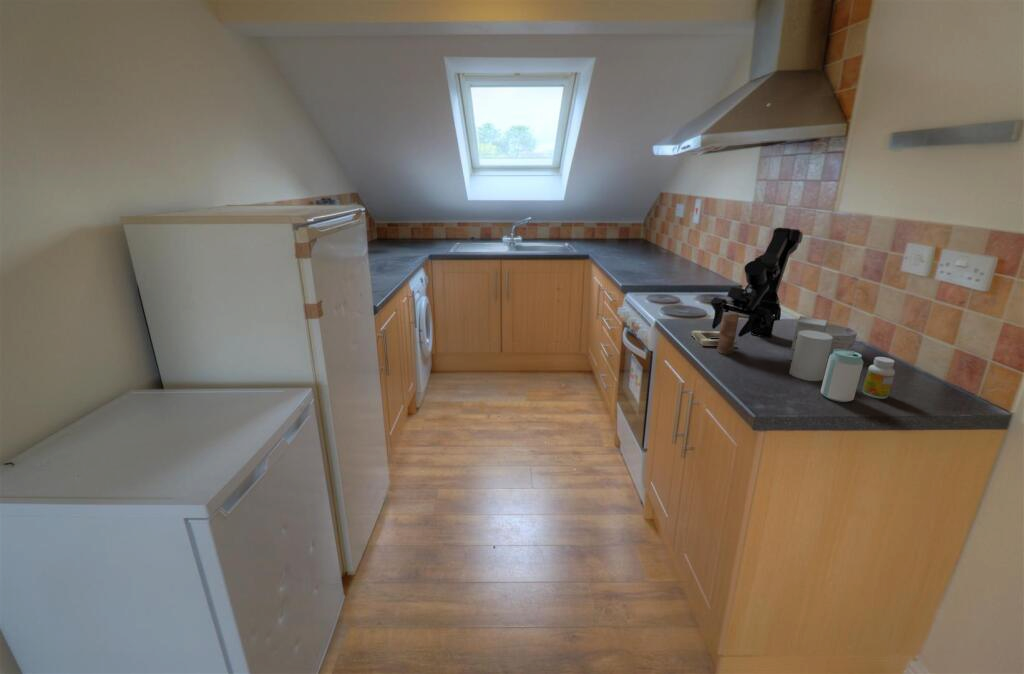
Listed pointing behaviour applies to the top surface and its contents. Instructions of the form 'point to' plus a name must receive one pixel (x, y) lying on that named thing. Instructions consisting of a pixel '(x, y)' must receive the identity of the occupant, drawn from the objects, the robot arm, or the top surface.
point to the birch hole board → (702, 339)
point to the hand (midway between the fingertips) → (725, 331)
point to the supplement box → (807, 324)
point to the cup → (810, 355)
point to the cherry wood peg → (727, 332)
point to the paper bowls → (840, 337)
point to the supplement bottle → (879, 378)
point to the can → (842, 375)
